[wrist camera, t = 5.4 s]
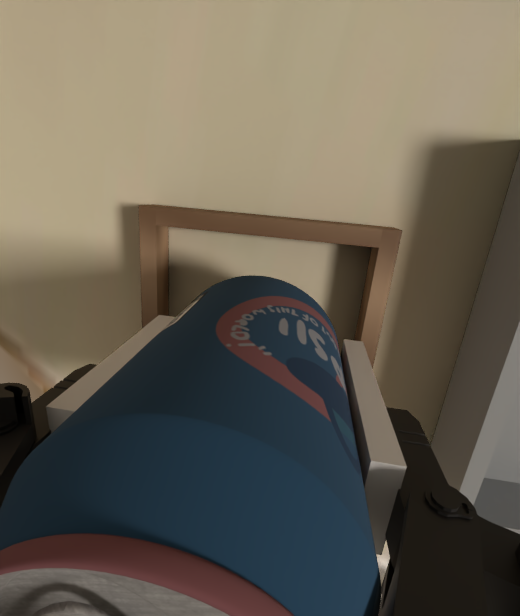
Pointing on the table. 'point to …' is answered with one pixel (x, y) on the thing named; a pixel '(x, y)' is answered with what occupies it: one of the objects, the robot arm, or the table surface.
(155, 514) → the soda can
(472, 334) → the grey bin
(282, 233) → the walnut frame
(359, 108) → the table surface
